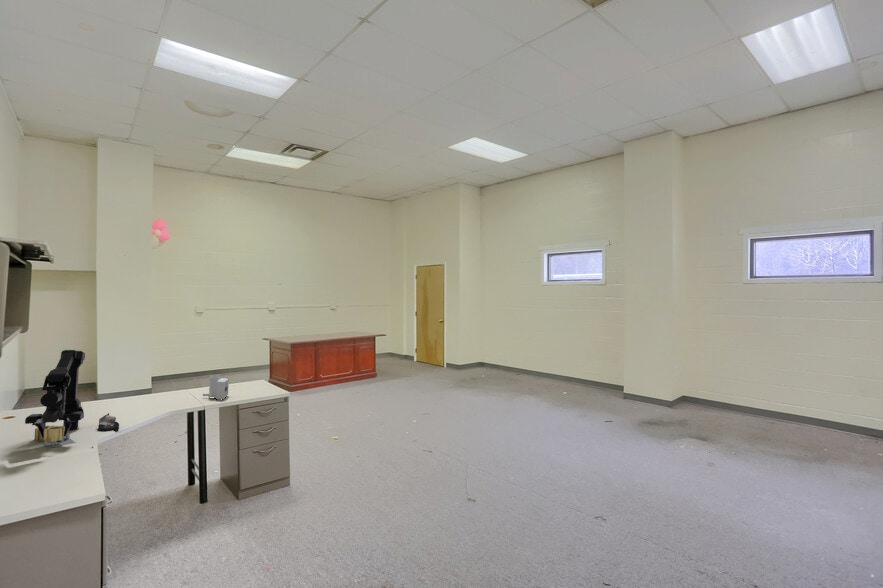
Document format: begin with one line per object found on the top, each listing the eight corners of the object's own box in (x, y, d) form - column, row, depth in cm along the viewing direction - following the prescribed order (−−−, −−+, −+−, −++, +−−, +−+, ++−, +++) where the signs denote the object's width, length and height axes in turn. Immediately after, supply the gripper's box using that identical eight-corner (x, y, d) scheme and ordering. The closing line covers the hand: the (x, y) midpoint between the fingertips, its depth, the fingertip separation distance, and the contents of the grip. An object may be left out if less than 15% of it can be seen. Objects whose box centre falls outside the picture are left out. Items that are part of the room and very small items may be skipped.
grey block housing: (223, 400, 289) (224, 377, 289) (200, 400, 286) (201, 377, 286) (228, 396, 301) (229, 374, 301) (205, 396, 298) (206, 374, 298)
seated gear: (32, 438, 197) (33, 427, 198) (52, 435, 203) (53, 424, 203) (37, 442, 194) (37, 430, 194) (57, 438, 199) (57, 427, 199)
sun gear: (48, 440, 197) (48, 434, 197) (66, 436, 202) (67, 431, 202) (52, 443, 193) (53, 437, 193) (71, 439, 199) (71, 434, 199)
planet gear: (39, 442, 187) (40, 430, 187) (50, 437, 194) (51, 425, 194) (57, 441, 188) (58, 430, 188) (68, 436, 195) (68, 425, 195)
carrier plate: (34, 442, 197) (34, 430, 198) (62, 437, 206) (63, 425, 206) (46, 451, 187) (47, 439, 187) (75, 445, 195) (76, 434, 195)
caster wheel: (110, 439, 213) (89, 435, 213) (127, 427, 224) (107, 424, 224) (111, 427, 212) (90, 423, 211) (127, 416, 223) (108, 412, 222)
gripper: (20, 407, 180) (18, 445, 180) (77, 404, 188) (75, 440, 188) (31, 401, 190) (29, 436, 190) (85, 398, 198) (83, 433, 198)
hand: (54, 437), depth 191 cm, fingers closed on planet gear, 7 cm apart
